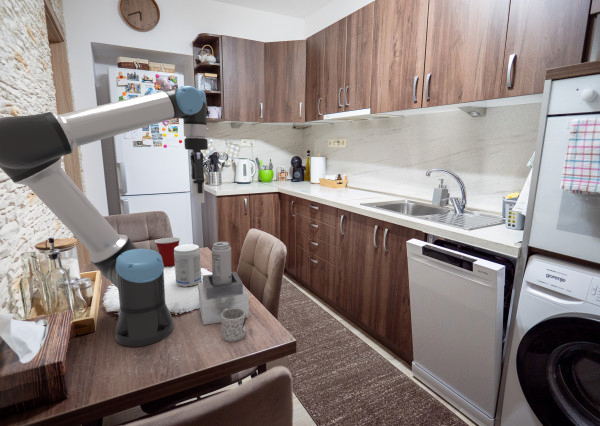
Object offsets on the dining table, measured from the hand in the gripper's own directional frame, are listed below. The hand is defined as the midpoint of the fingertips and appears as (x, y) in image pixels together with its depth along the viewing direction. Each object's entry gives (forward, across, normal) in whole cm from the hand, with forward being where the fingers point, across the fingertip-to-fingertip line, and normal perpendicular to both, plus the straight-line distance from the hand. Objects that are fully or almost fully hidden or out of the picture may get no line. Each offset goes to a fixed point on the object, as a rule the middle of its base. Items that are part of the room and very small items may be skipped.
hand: (198, 200), depth 115 cm
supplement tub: (+35, +11, +4) cm, 37 cm away
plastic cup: (+35, +36, +11) cm, 51 cm away
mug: (+35, -31, -5) cm, 47 cm away
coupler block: (+35, -17, -5) cm, 39 cm away
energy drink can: (+27, -17, -5) cm, 32 cm away
